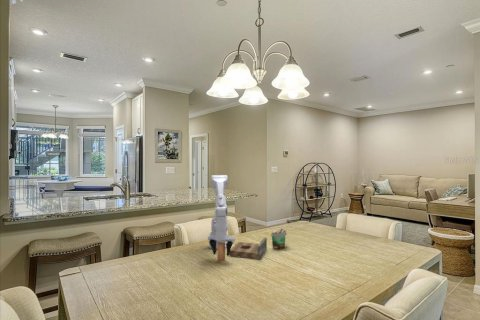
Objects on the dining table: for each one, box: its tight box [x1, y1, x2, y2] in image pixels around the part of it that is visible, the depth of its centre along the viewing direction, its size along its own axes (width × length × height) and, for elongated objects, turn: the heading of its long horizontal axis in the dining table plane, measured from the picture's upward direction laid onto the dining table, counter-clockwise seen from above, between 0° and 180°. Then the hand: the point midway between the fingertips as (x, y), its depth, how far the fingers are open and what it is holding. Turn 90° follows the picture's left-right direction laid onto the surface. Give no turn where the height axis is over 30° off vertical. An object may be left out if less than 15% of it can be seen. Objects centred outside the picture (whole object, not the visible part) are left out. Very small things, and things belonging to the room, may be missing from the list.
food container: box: [271, 228, 288, 250], centre depth 159 cm, size 12×6×10 cm, turn 143°
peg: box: [217, 241, 226, 263], centre depth 140 cm, size 4×4×9 cm
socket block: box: [229, 237, 268, 260], centre depth 151 cm, size 18×16×7 cm
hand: (221, 254), depth 140 cm, fingers open, 7 cm apart
